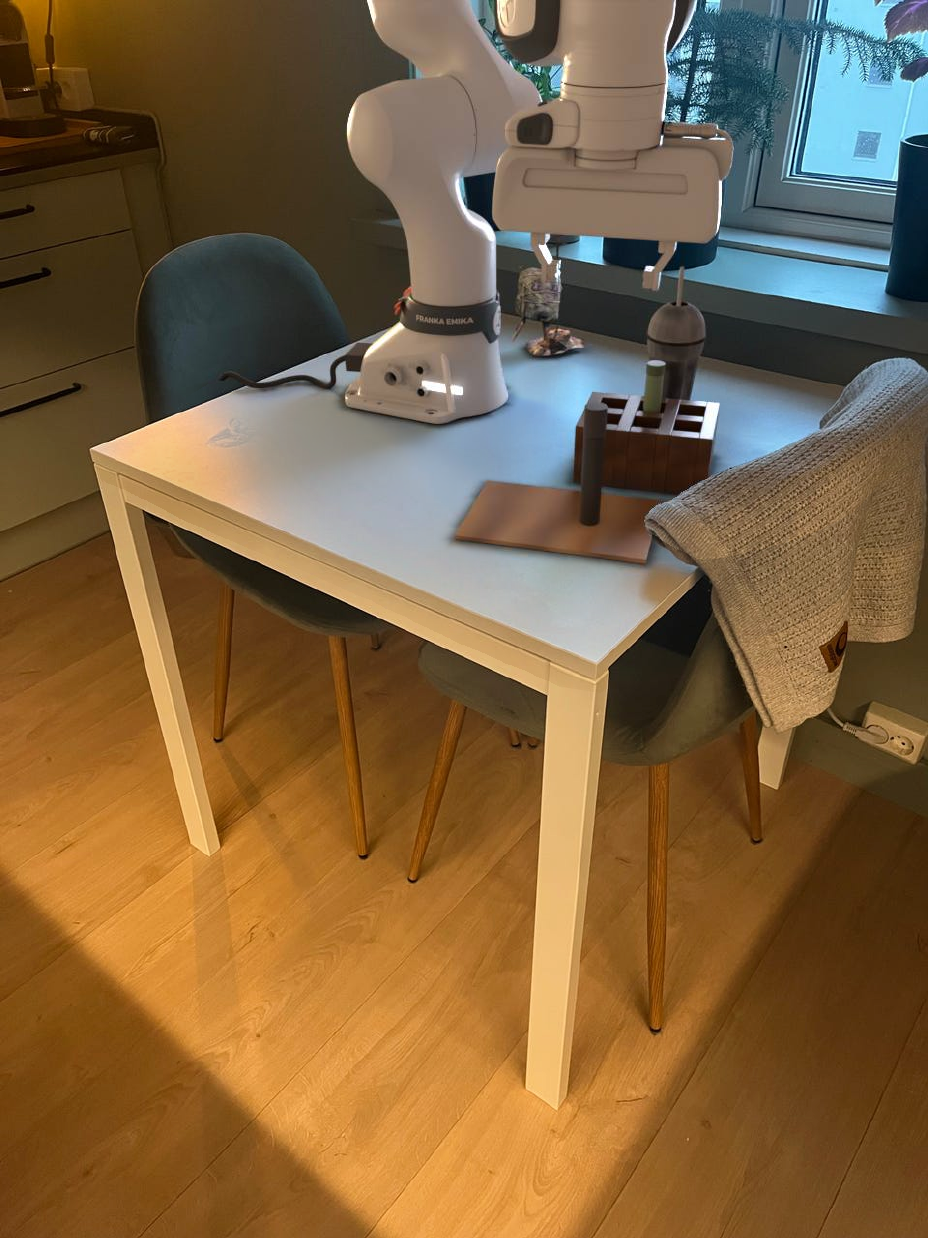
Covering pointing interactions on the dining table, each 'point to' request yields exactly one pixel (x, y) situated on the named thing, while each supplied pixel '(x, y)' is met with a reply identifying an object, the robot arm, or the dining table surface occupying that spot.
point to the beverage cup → (677, 344)
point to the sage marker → (653, 386)
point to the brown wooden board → (558, 522)
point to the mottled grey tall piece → (543, 312)
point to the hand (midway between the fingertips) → (600, 285)
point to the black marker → (592, 462)
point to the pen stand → (653, 443)
